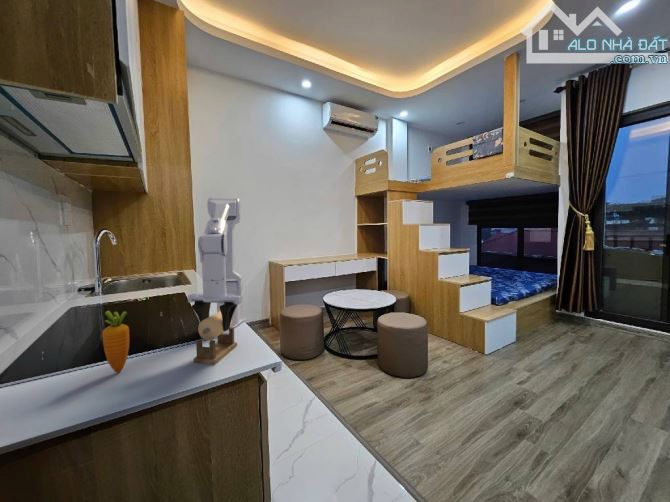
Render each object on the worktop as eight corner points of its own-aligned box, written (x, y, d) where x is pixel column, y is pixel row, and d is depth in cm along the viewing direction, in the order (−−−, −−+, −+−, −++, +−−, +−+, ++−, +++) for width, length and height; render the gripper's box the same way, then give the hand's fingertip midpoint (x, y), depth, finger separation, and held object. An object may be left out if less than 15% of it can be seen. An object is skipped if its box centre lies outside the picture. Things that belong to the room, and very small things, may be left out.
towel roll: (194, 341, 71) (194, 320, 71) (216, 327, 81) (216, 309, 81) (214, 343, 71) (214, 322, 70) (234, 329, 80) (234, 310, 80)
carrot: (136, 368, 68) (133, 307, 67) (119, 379, 63) (115, 313, 62) (118, 367, 69) (114, 307, 68) (99, 377, 64) (94, 313, 63)
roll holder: (193, 362, 71) (192, 341, 71) (218, 344, 82) (217, 326, 82) (215, 364, 70) (214, 342, 70) (237, 345, 81) (236, 327, 81)
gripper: (179, 281, 72) (181, 332, 73) (232, 282, 70) (233, 336, 71) (196, 276, 79) (198, 323, 80) (245, 277, 77) (246, 326, 78)
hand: (216, 329), depth 76 cm, fingers closed on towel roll, 5 cm apart
